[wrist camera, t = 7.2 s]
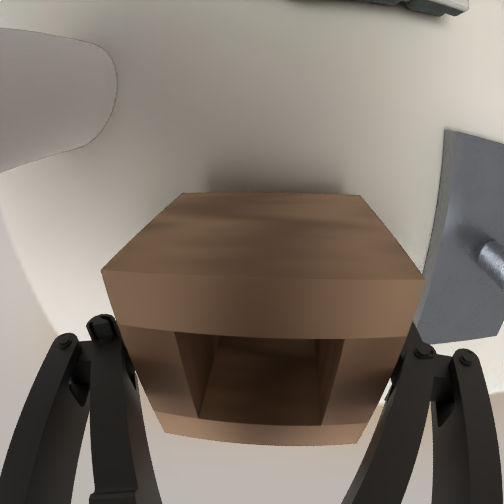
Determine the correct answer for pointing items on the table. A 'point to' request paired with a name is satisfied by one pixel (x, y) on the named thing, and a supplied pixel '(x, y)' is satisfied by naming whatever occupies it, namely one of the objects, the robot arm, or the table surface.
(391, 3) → the communication device
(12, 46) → the grey cylinder
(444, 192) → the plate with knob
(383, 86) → the table surface
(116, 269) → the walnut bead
